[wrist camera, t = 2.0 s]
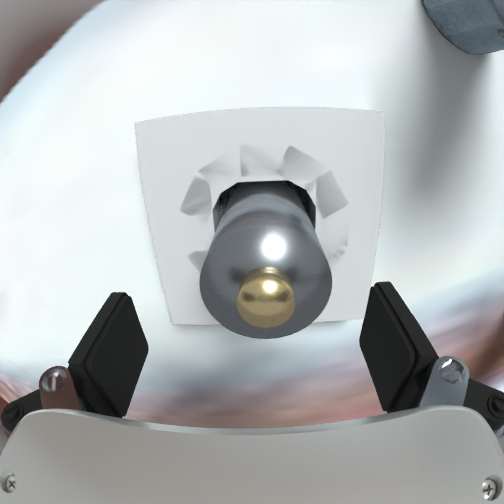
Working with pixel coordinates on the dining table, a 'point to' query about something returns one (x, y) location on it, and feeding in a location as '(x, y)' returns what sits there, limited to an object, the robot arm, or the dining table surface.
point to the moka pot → (470, 23)
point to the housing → (263, 169)
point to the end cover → (265, 264)
